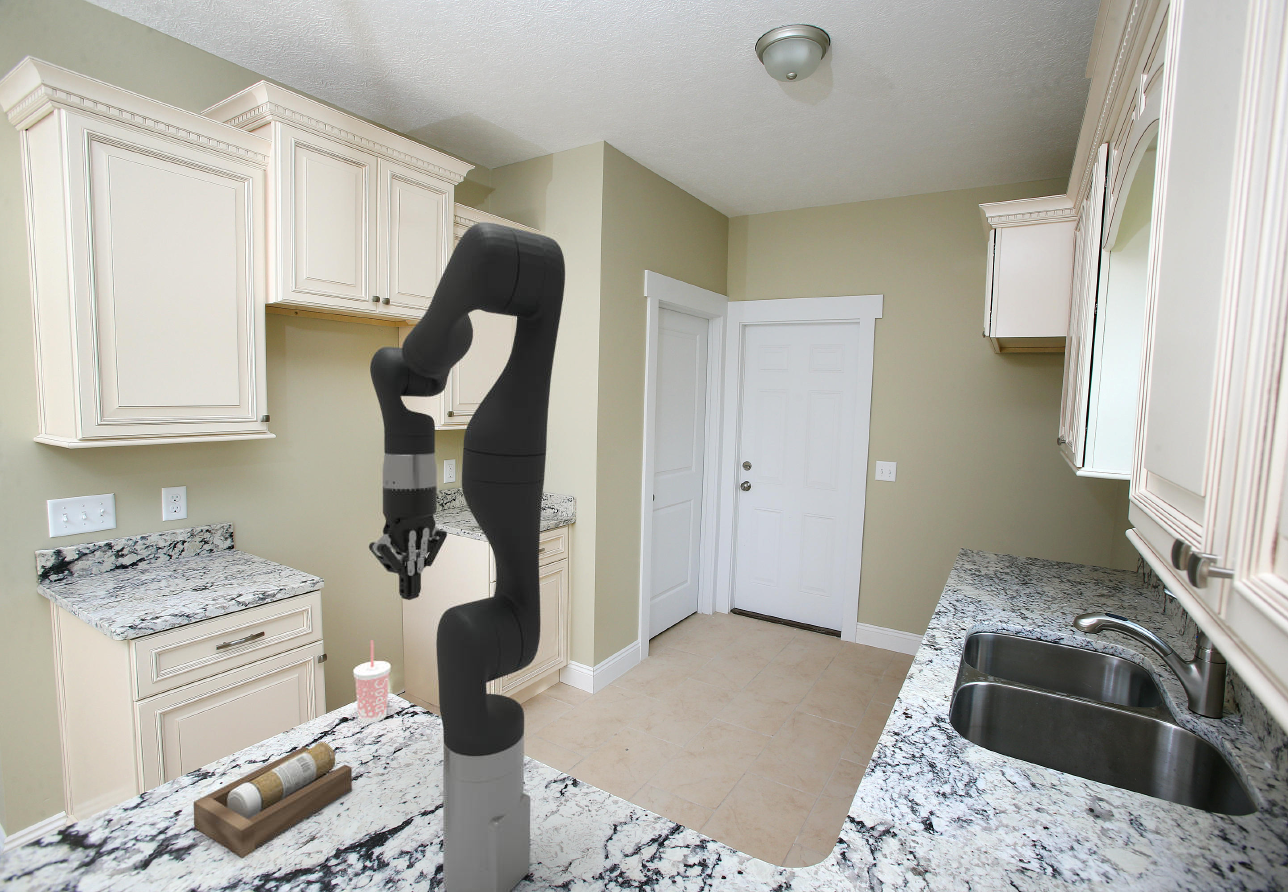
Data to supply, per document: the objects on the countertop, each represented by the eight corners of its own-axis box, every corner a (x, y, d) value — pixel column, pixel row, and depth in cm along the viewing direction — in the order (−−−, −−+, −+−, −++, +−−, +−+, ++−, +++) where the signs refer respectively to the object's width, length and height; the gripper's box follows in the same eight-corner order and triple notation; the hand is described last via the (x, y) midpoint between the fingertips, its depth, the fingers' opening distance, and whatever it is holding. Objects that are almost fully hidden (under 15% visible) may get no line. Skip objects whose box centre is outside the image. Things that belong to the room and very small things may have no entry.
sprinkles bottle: (312, 746, 93) (220, 795, 80) (329, 736, 91) (239, 785, 79) (323, 775, 92) (233, 829, 79) (341, 765, 90) (252, 819, 78)
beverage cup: (359, 729, 104) (358, 649, 103) (349, 715, 108) (348, 639, 107) (395, 717, 108) (395, 641, 107) (384, 704, 112) (384, 631, 111)
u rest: (351, 790, 87) (351, 767, 87) (242, 857, 74) (241, 830, 74) (304, 768, 92) (304, 746, 92) (194, 827, 79) (193, 801, 79)
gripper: (389, 490, 82) (390, 615, 83) (461, 481, 93) (461, 590, 94) (353, 486, 85) (354, 605, 86) (426, 477, 97) (427, 583, 98)
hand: (410, 597), depth 90 cm, fingers closed
